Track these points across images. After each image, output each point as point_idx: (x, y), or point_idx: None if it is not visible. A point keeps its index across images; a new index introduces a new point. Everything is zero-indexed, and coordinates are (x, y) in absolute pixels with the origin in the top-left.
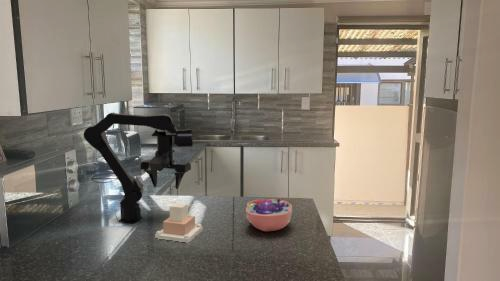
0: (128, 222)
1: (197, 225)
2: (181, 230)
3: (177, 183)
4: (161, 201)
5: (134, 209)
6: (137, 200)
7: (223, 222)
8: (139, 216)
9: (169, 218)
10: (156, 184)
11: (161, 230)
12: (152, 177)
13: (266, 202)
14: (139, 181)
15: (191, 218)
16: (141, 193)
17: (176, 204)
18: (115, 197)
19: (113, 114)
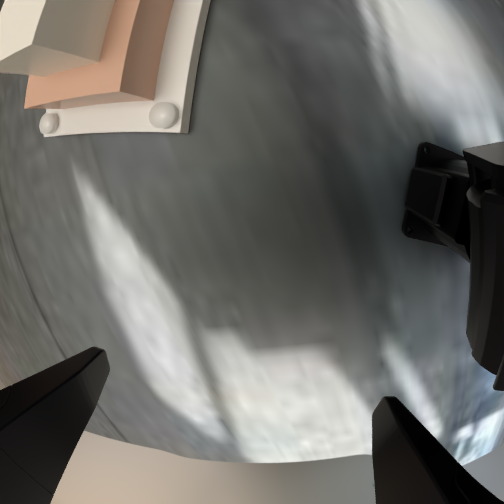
0: (443, 149)
1: (48, 113)
2: None
3: (37, 375)
4: (352, 423)
5: (458, 173)
6: (480, 186)
7: (30, 235)
8: (413, 195)
9: (127, 15)
10: (374, 434)
11: (195, 14)
12: (445, 488)
13: None
14: None
15: (31, 75)
16: (496, 200)
17: (27, 13)
18: (491, 403)
19: None
